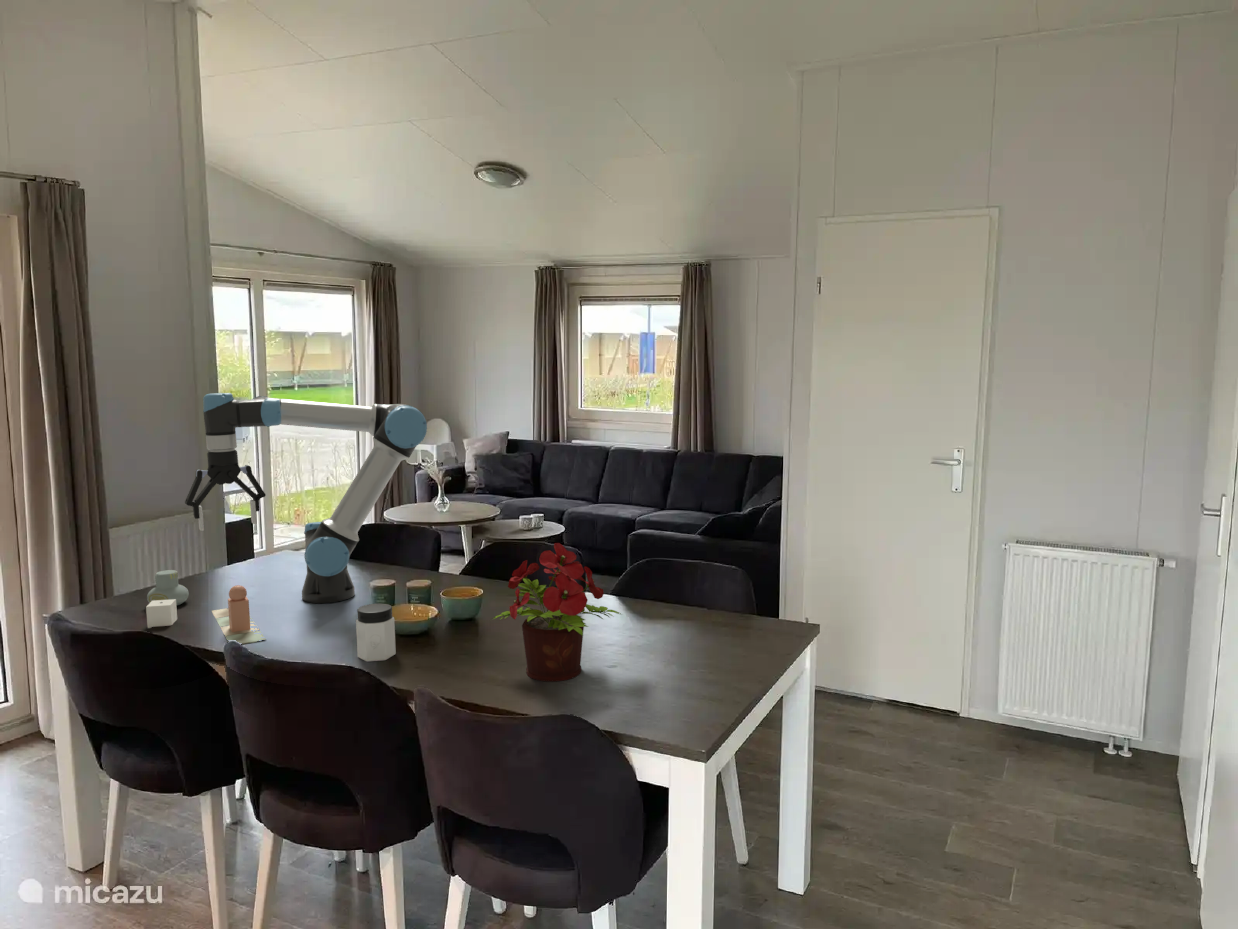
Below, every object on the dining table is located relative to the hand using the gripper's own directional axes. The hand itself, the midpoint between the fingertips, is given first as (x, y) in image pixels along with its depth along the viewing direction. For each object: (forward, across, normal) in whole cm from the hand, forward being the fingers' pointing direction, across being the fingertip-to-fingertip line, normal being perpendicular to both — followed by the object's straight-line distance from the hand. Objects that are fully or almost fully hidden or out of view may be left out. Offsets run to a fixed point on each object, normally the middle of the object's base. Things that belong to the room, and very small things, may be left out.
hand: (228, 526), depth 245 cm
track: (+26, +1, +8) cm, 27 cm away
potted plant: (+27, -52, +88) cm, 106 cm away
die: (+26, +18, -6) cm, 32 cm away
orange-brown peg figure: (+26, +2, +12) cm, 28 cm away
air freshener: (+26, +13, -25) cm, 38 cm away
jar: (+27, -20, +54) cm, 63 cm away
